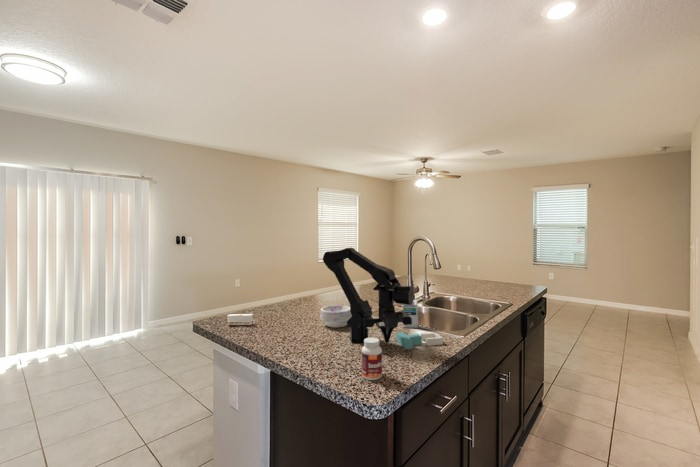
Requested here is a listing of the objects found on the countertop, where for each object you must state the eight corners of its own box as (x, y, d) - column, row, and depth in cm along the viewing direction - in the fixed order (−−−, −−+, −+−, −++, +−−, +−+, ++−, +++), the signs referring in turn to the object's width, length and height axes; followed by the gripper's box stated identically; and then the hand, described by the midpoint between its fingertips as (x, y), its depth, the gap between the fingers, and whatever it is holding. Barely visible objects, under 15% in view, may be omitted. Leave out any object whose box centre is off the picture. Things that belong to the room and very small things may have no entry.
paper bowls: (342, 318, 161) (342, 303, 161) (359, 326, 148) (358, 309, 148) (315, 323, 153) (315, 307, 153) (329, 332, 140) (329, 314, 140)
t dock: (427, 345, 121) (427, 339, 121) (420, 339, 128) (420, 333, 128) (442, 344, 122) (442, 337, 122) (435, 338, 129) (435, 332, 129)
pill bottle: (368, 382, 92) (368, 345, 92) (357, 374, 98) (357, 338, 98) (386, 377, 95) (385, 341, 95) (374, 370, 101) (374, 335, 101)
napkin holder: (220, 327, 151) (220, 315, 151) (239, 321, 161) (239, 310, 161) (242, 331, 143) (242, 319, 143) (261, 325, 153) (260, 313, 153)
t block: (404, 349, 118) (404, 341, 118) (396, 340, 128) (396, 332, 128) (425, 347, 119) (424, 339, 119) (415, 338, 129) (415, 331, 129)
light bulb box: (418, 328, 143) (417, 304, 143) (403, 327, 144) (402, 304, 144) (418, 321, 153) (417, 299, 153) (403, 321, 155) (403, 299, 155)
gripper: (366, 308, 113) (367, 352, 113) (417, 305, 116) (417, 348, 116) (360, 301, 124) (361, 341, 124) (406, 299, 127) (407, 338, 127)
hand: (386, 342), depth 122 cm, fingers closed
